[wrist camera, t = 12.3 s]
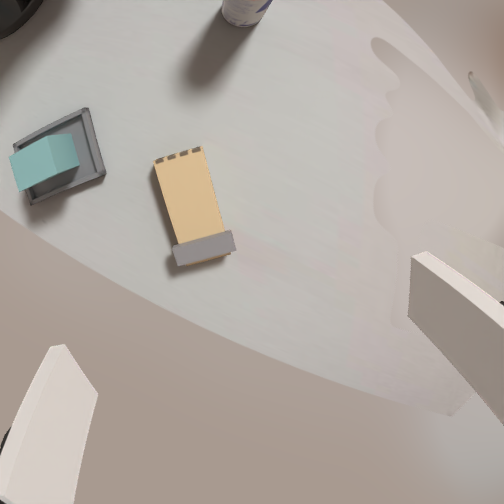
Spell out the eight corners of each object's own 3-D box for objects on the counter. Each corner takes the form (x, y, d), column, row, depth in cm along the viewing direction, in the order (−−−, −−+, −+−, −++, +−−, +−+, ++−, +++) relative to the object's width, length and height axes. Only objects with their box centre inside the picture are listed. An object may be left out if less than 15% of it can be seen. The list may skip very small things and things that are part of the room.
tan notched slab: (150, 161, 36) (145, 164, 33) (208, 144, 37) (209, 145, 33) (181, 260, 42) (179, 271, 38) (235, 245, 42) (238, 256, 39)
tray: (18, 143, 31) (12, 144, 30) (88, 108, 32) (84, 107, 31) (35, 202, 35) (30, 205, 34) (106, 173, 36) (102, 175, 34)
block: (36, 150, 32) (9, 156, 26) (70, 133, 32) (46, 135, 26) (44, 180, 34) (19, 192, 27) (79, 165, 34) (57, 173, 28)
